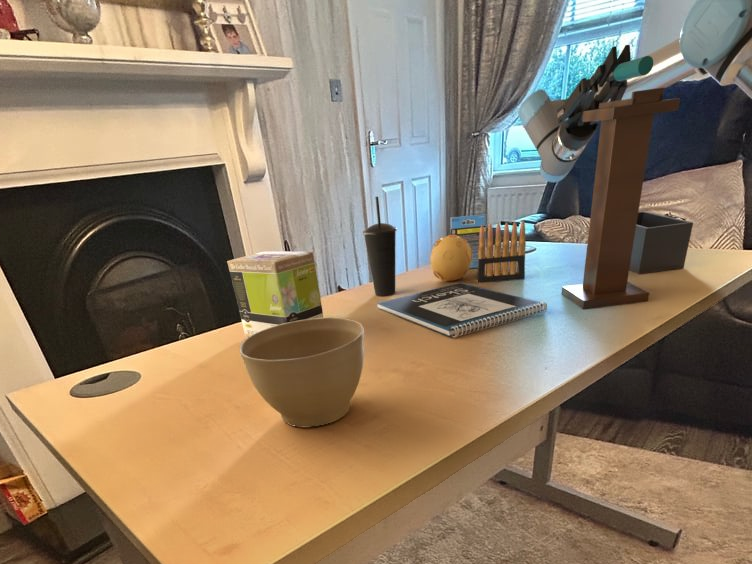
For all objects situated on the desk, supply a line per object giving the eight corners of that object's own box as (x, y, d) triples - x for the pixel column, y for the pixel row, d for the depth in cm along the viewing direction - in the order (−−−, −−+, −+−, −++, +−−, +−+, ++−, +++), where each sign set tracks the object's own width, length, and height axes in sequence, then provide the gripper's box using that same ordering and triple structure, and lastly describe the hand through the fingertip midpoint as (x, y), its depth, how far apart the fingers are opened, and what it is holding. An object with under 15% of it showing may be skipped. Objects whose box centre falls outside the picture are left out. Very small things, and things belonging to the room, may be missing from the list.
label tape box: (485, 264, 139) (486, 211, 132) (485, 268, 135) (486, 213, 128) (452, 267, 141) (450, 215, 133) (451, 270, 137) (449, 217, 130)
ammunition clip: (524, 277, 123) (527, 219, 116) (524, 279, 122) (527, 220, 115) (477, 280, 125) (477, 224, 119) (477, 282, 124) (477, 225, 117)
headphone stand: (560, 293, 108) (578, 100, 90) (619, 286, 108) (648, 90, 90) (583, 310, 98) (609, 95, 80) (649, 301, 97) (689, 83, 79)
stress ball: (425, 280, 132) (423, 235, 126) (462, 273, 133) (462, 229, 128) (439, 287, 124) (438, 240, 118) (478, 280, 125) (478, 233, 120)
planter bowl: (274, 394, 81) (257, 323, 75) (377, 387, 79) (369, 312, 73) (244, 444, 69) (221, 363, 62) (366, 437, 66) (355, 352, 60)
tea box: (327, 330, 106) (314, 250, 98) (290, 346, 101) (273, 262, 92) (280, 322, 115) (264, 248, 107) (243, 336, 110) (224, 259, 101)
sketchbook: (460, 288, 122) (460, 279, 121) (549, 313, 99) (550, 302, 98) (377, 308, 116) (376, 298, 114) (452, 340, 93) (452, 328, 91)
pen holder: (599, 256, 131) (604, 216, 126) (638, 251, 131) (644, 211, 126) (638, 274, 114) (646, 228, 109) (683, 268, 113) (693, 222, 108)
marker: (596, 86, 106) (597, 69, 105) (609, 84, 106) (610, 67, 105) (637, 76, 91) (639, 57, 90) (652, 74, 91) (654, 54, 90)
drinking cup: (397, 287, 129) (390, 193, 118) (404, 294, 123) (397, 195, 111) (367, 292, 129) (356, 198, 117) (372, 299, 122) (362, 200, 111)
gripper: (608, 145, 121) (663, 69, 98) (544, 154, 122) (583, 80, 98) (606, 111, 121) (660, 25, 97) (541, 120, 121) (579, 37, 98)
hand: (621, 53), depth 98 cm, fingers closed on marker, 2 cm apart
